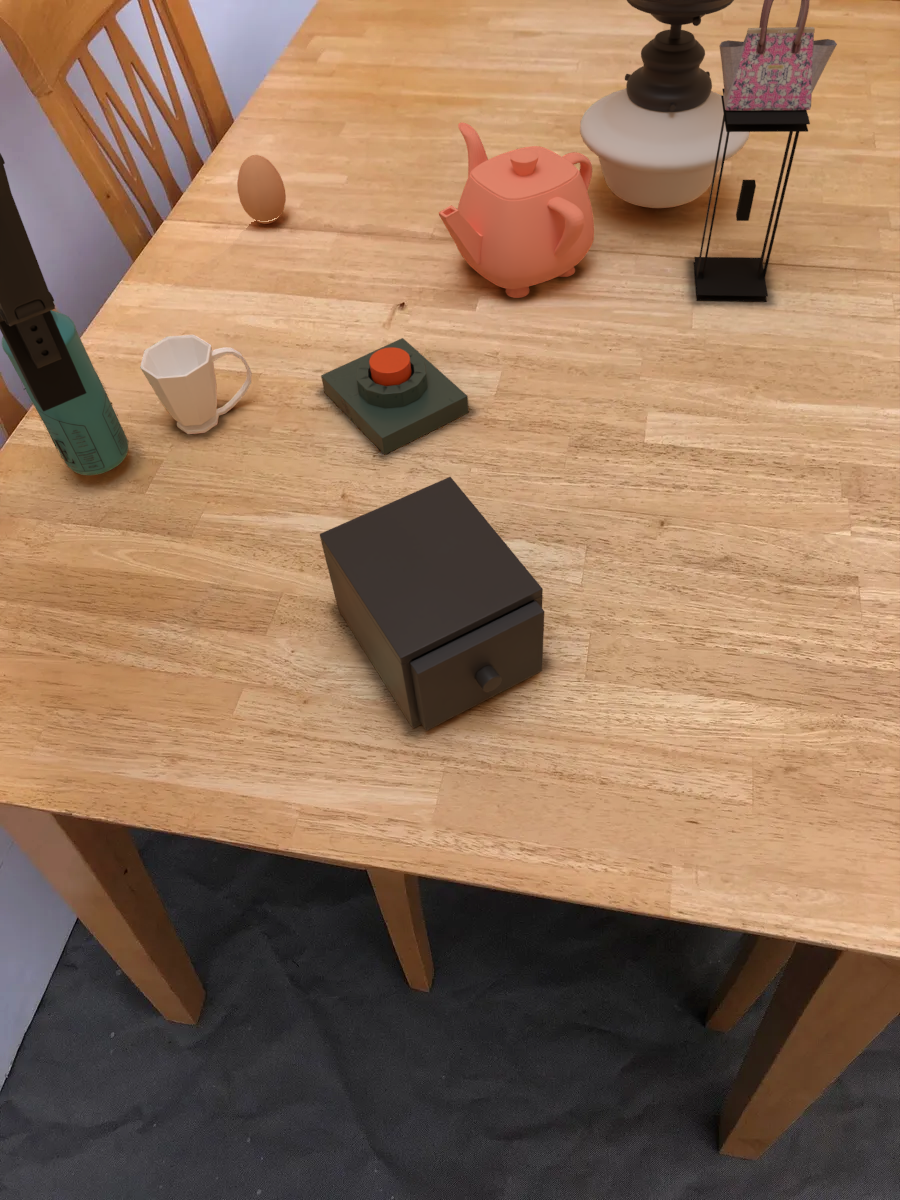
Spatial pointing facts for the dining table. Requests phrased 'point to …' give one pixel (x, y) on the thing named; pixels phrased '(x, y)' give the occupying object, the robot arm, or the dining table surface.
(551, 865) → the dining table surface
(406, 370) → the button
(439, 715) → the drawer
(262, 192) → the egg
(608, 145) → the light fixture
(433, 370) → the button block
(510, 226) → the teapot
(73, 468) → the beverage bottle
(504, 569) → the cabinet
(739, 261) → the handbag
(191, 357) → the cup
